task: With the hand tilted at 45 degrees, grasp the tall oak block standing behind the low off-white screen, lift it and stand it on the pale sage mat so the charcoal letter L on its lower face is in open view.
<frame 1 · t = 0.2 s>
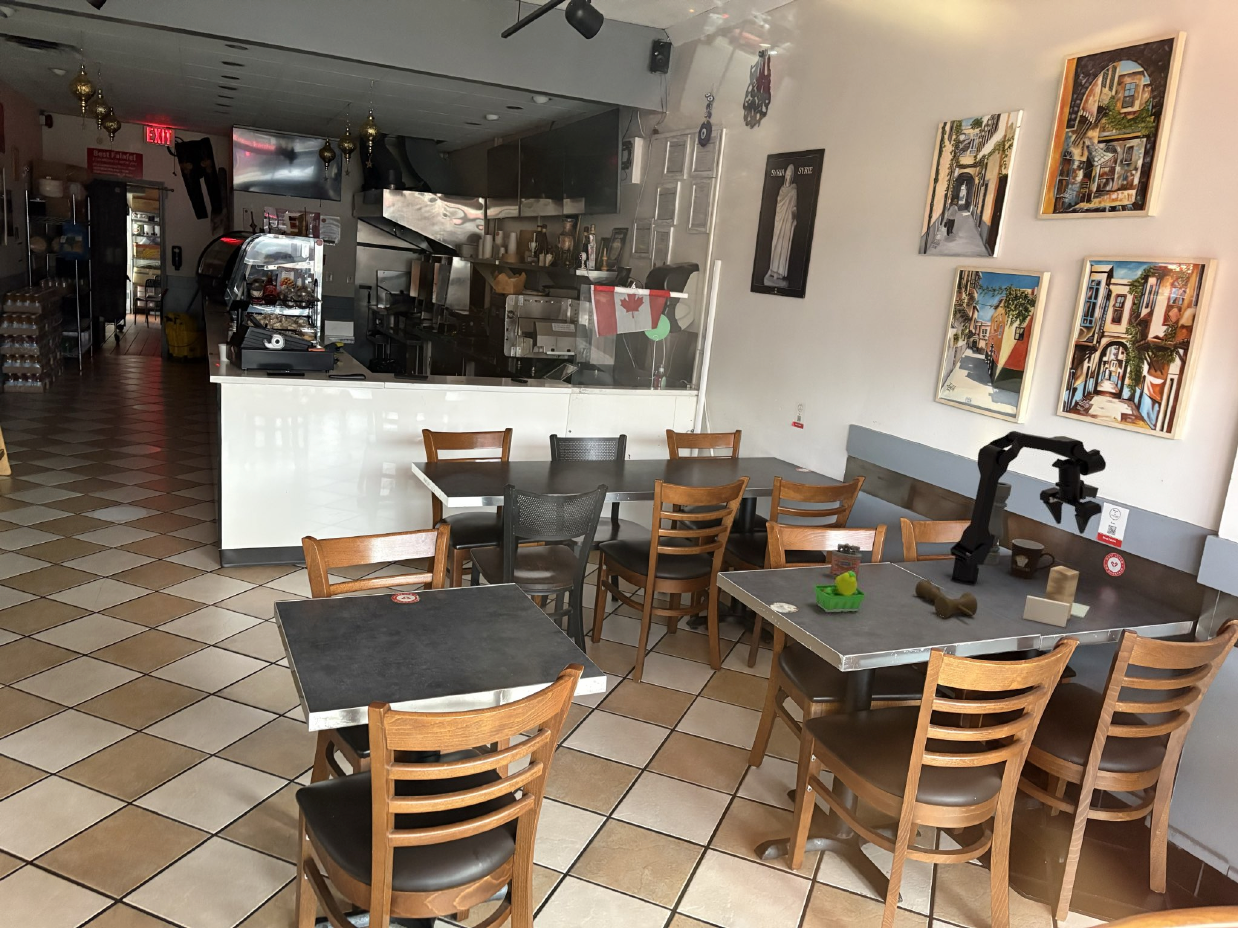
hand: (1070, 528, 266), 15 cm above the table, tool pointing down, fingers open, 9 cm apart
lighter: (843, 578, 253), on the table
coffee mug: (1025, 577, 267), on the table
display mat: (1066, 607, 244), on the table
letter block: (1055, 616, 237), on the table
screen: (1043, 621, 233), on the table
fruit basket: (838, 610, 230), on the table
kendama: (944, 610, 236), on the table
candle holder: (987, 561, 279), on the table
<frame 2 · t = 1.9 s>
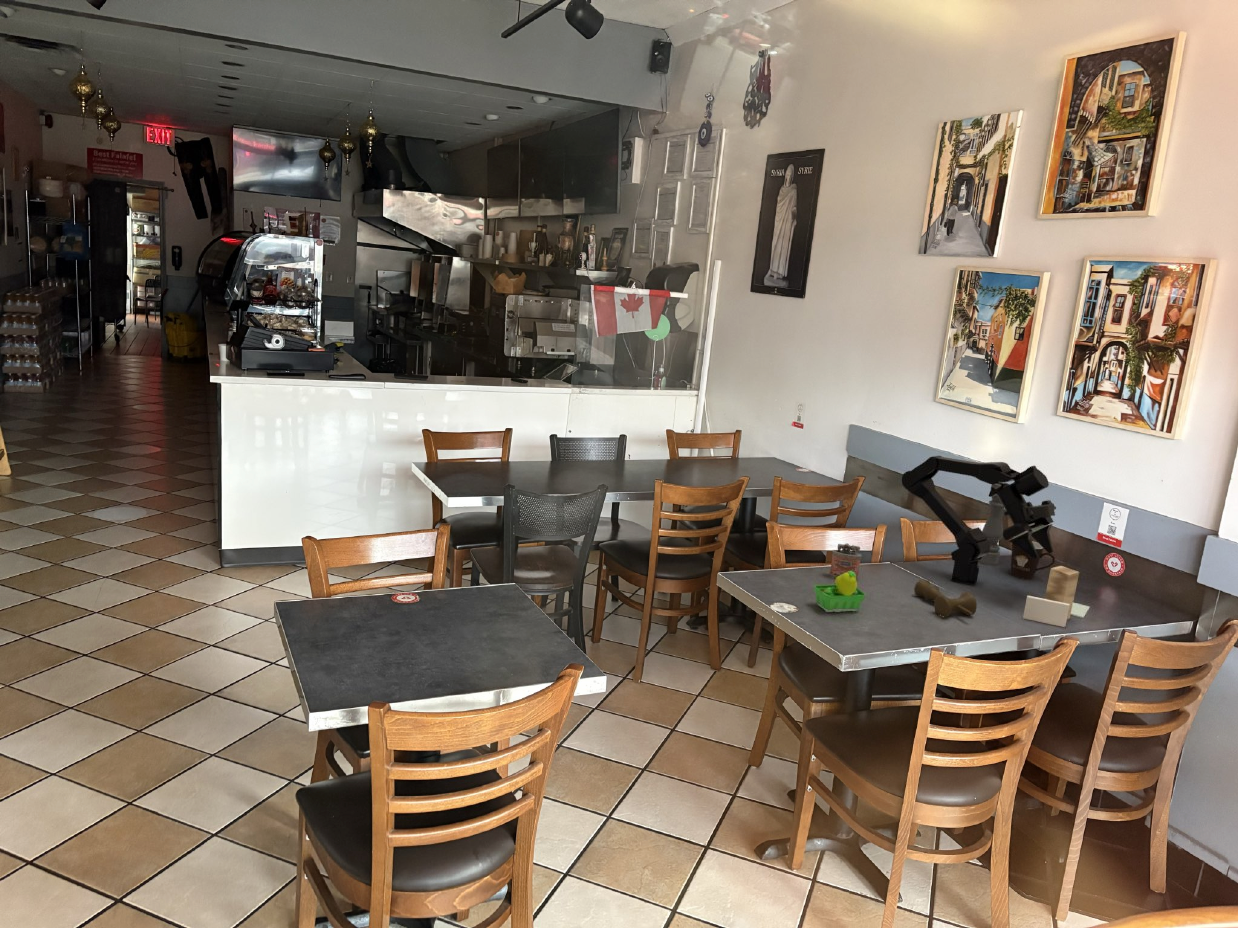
hand: (1044, 555, 242), 14 cm above the table, tool tilted 40°, fingers open, 9 cm apart
nothing on the table moved.
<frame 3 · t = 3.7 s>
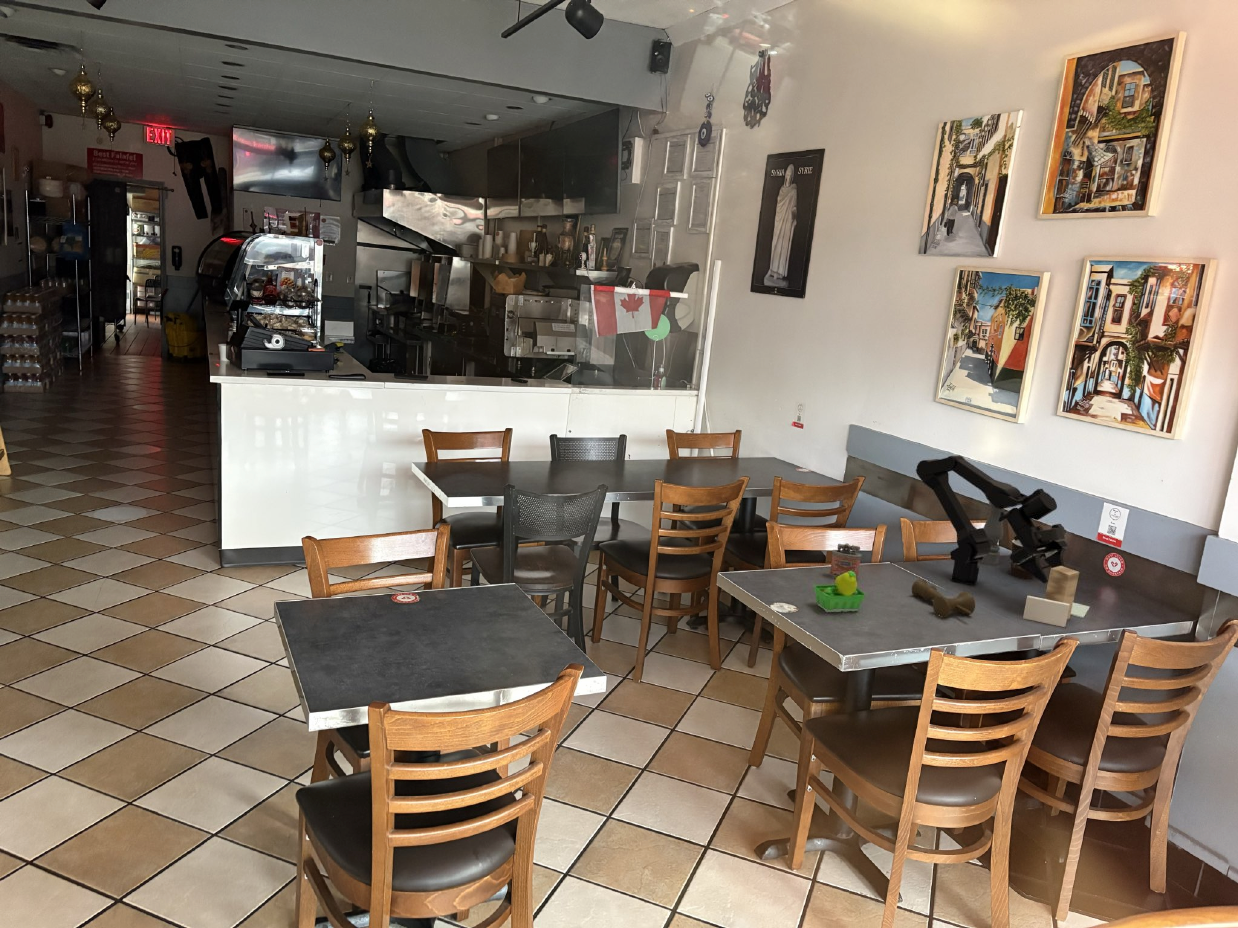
hand: (1055, 580, 237), 10 cm above the table, tool tilted 45°, fingers open, 9 cm apart
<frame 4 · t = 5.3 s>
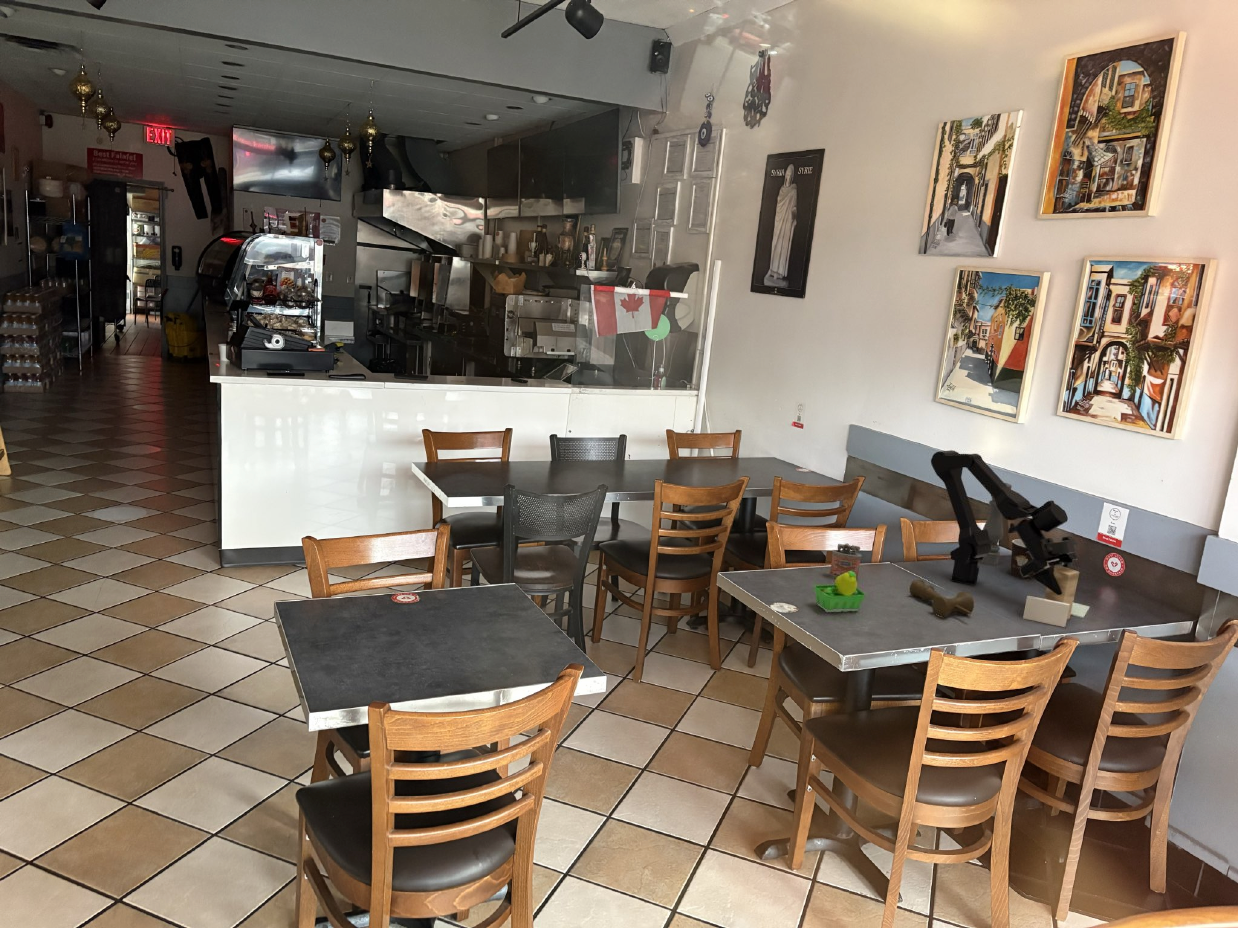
hand: (1065, 592, 235), 7 cm above the table, tool tilted 45°, fingers closed on letter block, 5 cm apart
letter block: (1055, 616, 237), on the table, touching gripper
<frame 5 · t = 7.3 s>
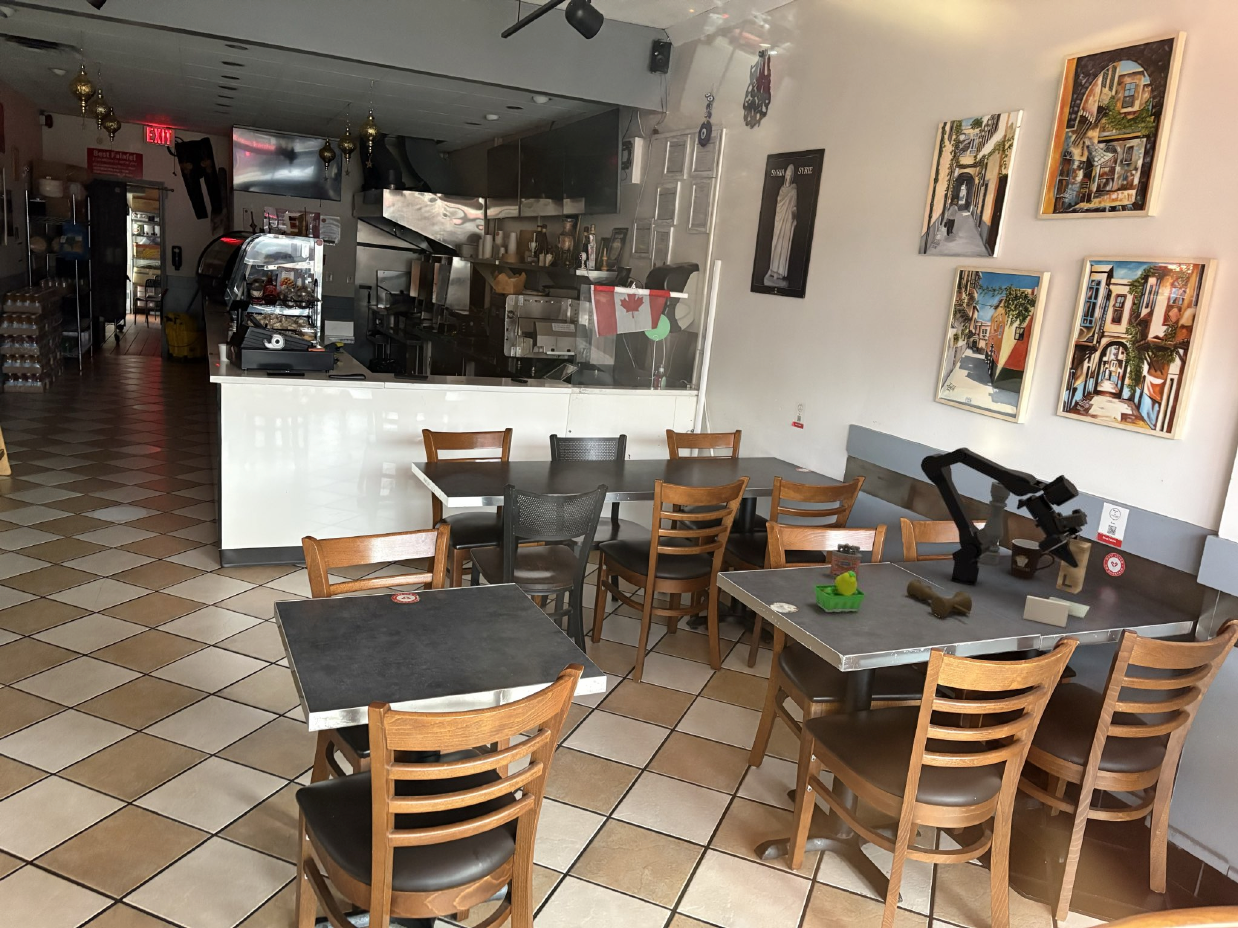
hand: (1079, 565, 238), 13 cm above the table, tool tilted 45°, fingers closed on letter block, 5 cm apart
letter block: (1068, 588, 240), point 6 cm above the table, touching gripper
when the fingers open (9 cm above the table, at t = 9.5 s): letter block drops 1 cm, resting on display mat.
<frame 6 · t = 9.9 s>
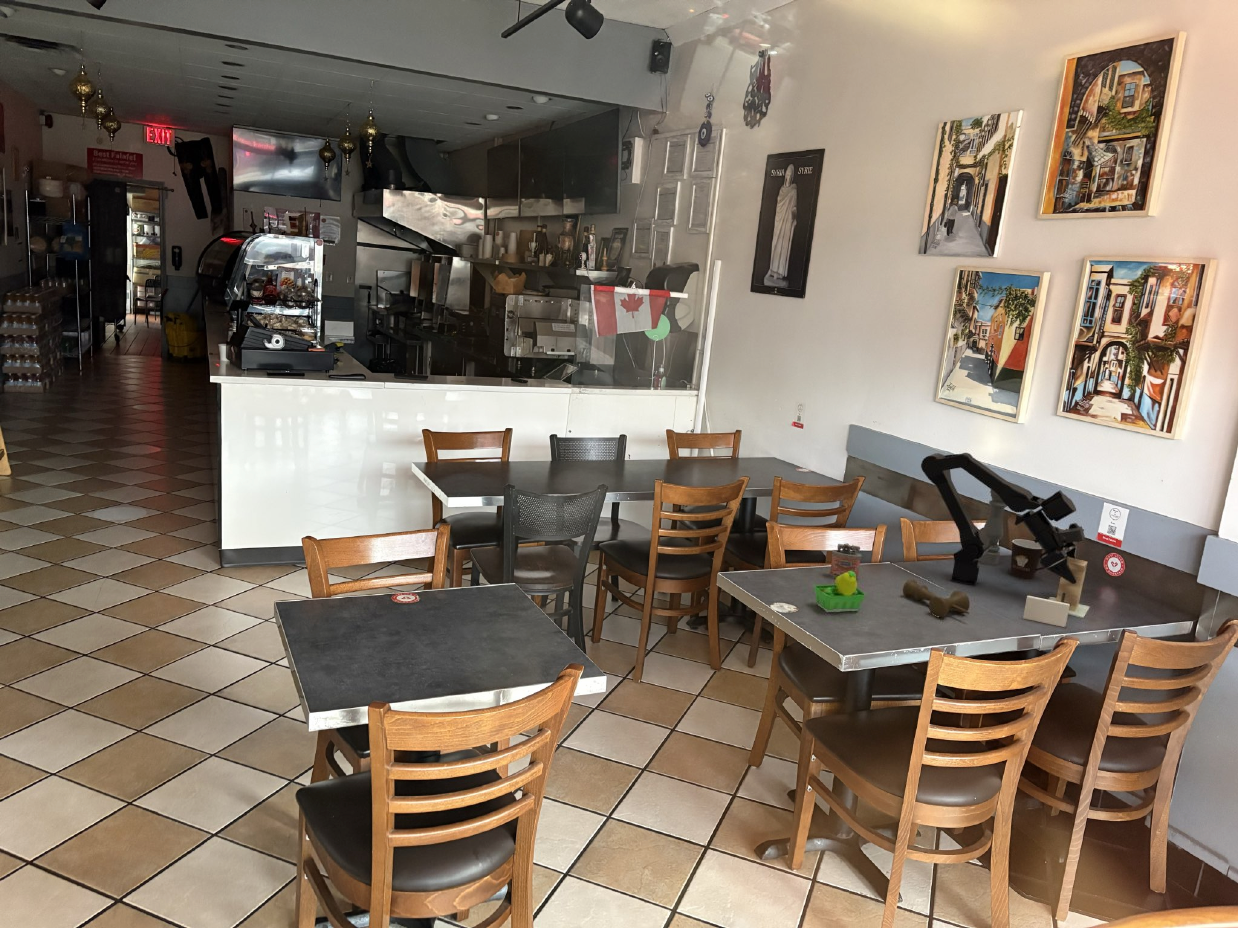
hand: (1078, 578, 242), 9 cm above the table, tool tilted 45°, fingers open, 9 cm apart
letter block: (1066, 606, 244), resting on display mat
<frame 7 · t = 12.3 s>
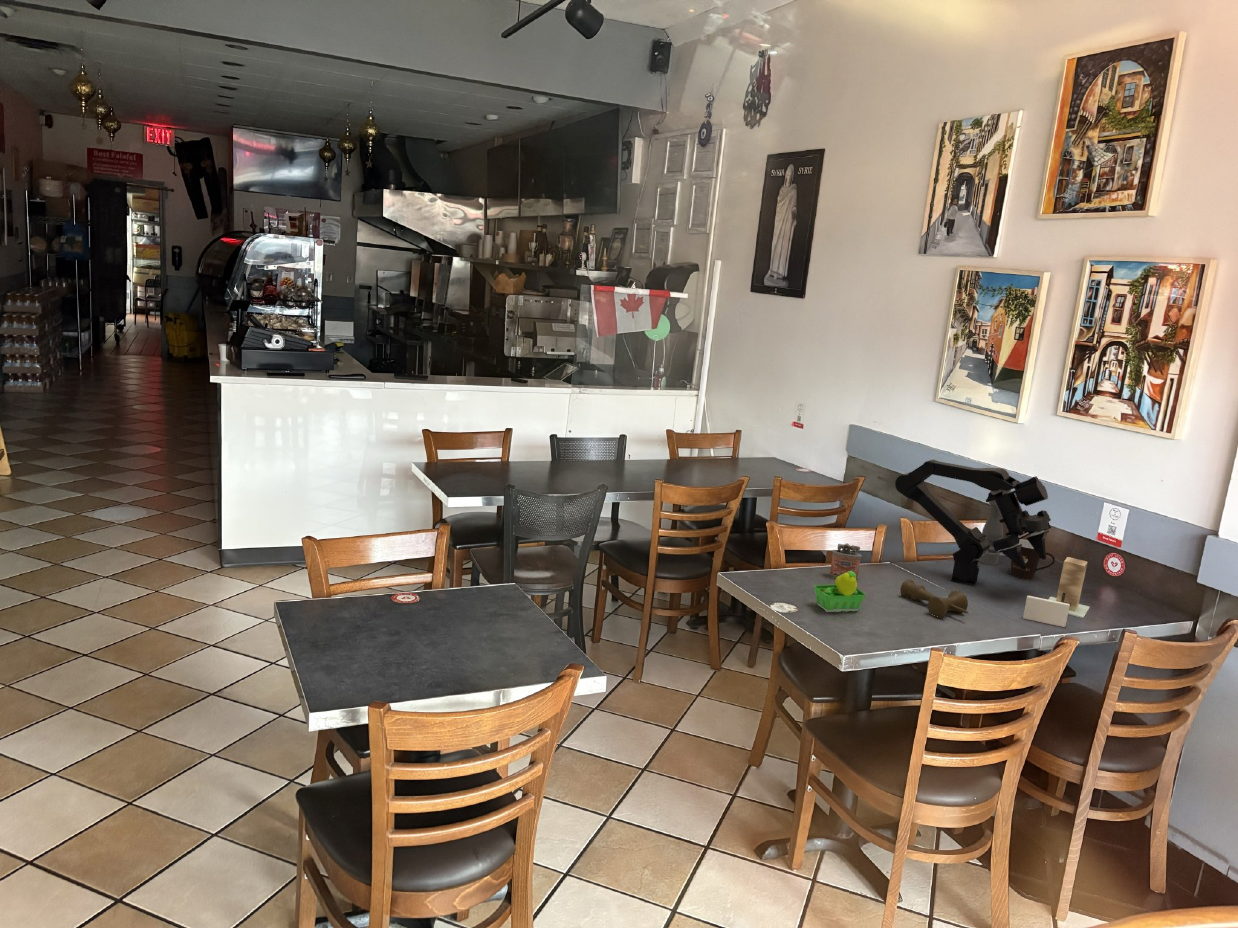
hand: (1034, 564, 247), 10 cm above the table, tool tilted 35°, fingers open, 9 cm apart
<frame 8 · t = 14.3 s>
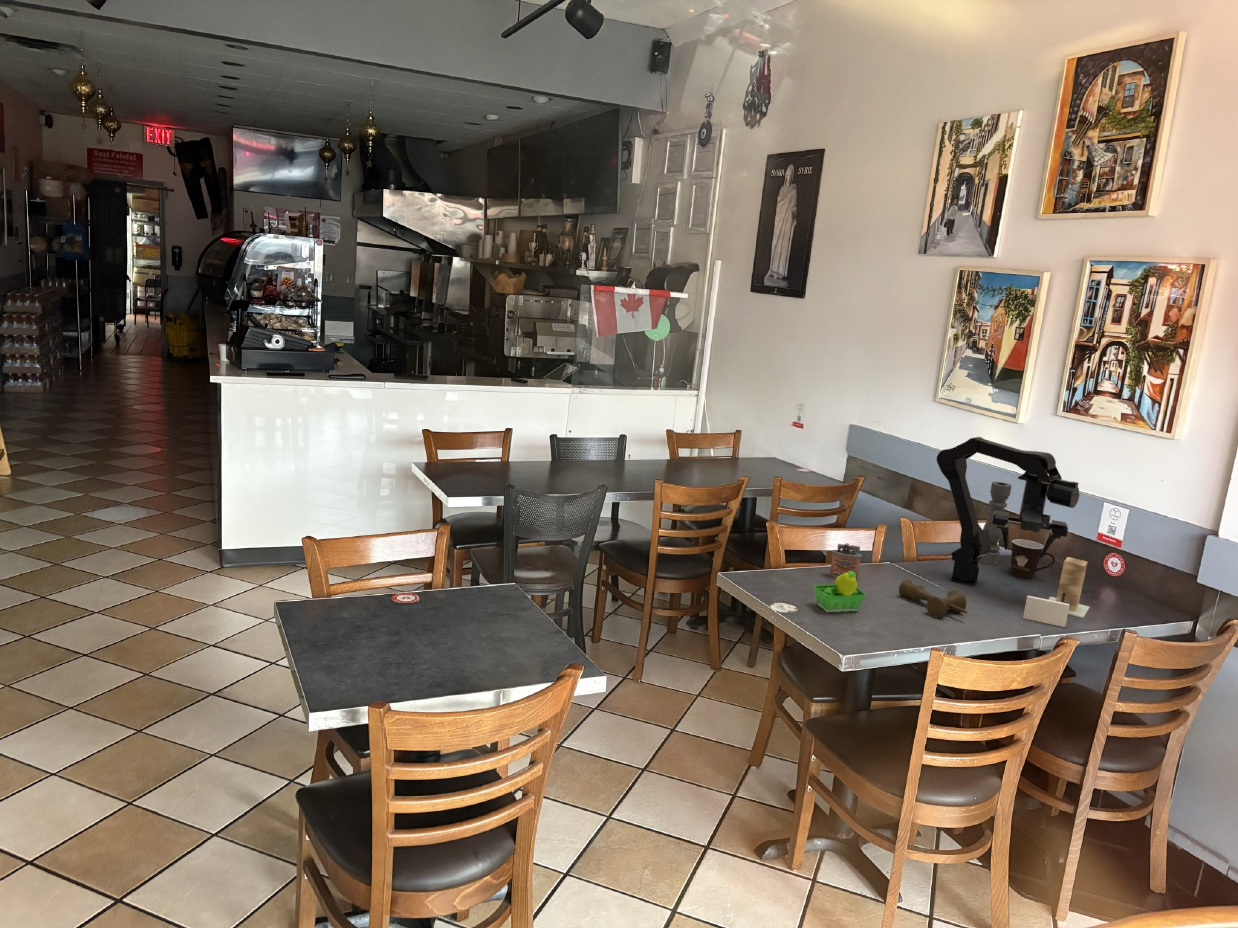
hand: (1023, 553, 246), 13 cm above the table, tool pointing down, fingers open, 9 cm apart
at the end: letter block 0.0 cm off-centre on the display mat, point 0.4 cm above the display mat's base; letter block tilted 0°; the gripper is holding nothing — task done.
